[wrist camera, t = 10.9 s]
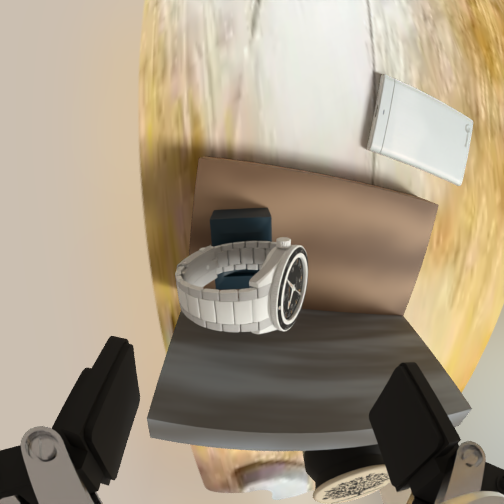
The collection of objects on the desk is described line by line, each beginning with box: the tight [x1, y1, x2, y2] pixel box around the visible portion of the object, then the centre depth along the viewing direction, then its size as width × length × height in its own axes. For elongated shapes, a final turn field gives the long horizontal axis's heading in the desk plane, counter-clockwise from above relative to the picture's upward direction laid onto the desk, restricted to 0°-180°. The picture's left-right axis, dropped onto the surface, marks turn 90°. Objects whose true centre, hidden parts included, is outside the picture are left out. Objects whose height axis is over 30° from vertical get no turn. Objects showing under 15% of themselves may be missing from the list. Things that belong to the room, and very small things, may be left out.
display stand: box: [147, 156, 472, 451], centre depth 21 cm, size 14×22×18 cm, turn 82°
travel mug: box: [303, 444, 390, 504], centre depth 26 cm, size 8×8×18 cm
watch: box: [175, 208, 308, 334], centre depth 19 cm, size 6×8×11 cm
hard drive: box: [366, 74, 473, 186], centre depth 25 cm, size 2×8×12 cm
